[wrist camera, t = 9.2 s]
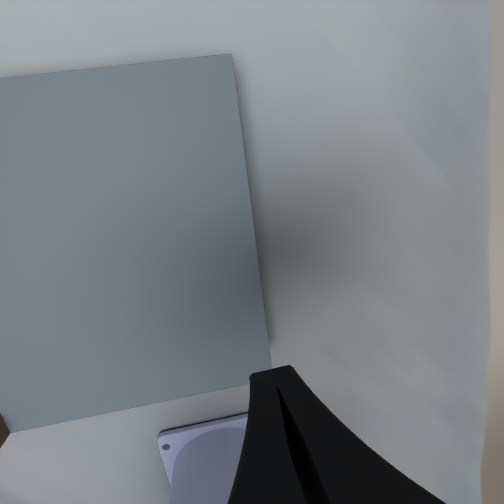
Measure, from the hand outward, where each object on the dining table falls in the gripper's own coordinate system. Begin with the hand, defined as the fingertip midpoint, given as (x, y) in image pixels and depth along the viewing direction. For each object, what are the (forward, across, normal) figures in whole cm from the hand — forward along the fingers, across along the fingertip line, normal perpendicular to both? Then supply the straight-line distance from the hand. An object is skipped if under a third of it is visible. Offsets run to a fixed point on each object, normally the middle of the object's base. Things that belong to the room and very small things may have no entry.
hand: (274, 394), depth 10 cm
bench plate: (+9, +6, -3) cm, 12 cm away
